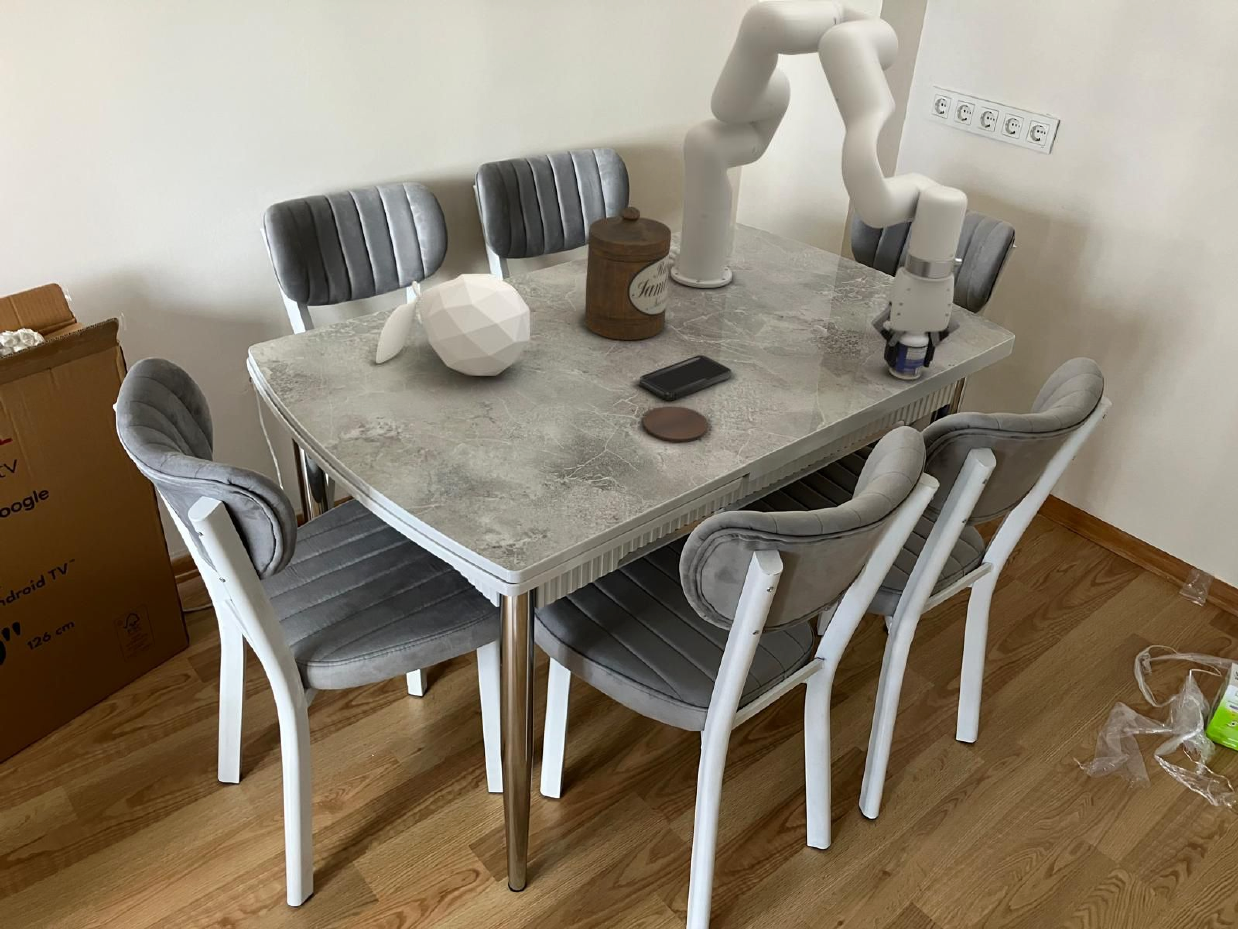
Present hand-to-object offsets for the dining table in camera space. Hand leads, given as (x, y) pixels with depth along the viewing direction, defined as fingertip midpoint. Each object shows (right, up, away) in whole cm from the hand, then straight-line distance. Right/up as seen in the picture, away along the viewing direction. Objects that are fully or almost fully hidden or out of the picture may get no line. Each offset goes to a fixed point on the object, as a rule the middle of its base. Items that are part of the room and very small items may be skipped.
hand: (906, 363), depth 175 cm
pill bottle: (0, -2, +1) cm, 2 cm away
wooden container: (-49, +9, +13) cm, 51 cm away
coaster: (-41, -11, -18) cm, 46 cm away
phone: (-39, -4, -5) cm, 39 cm away
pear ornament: (-78, 0, -3) cm, 78 cm away
